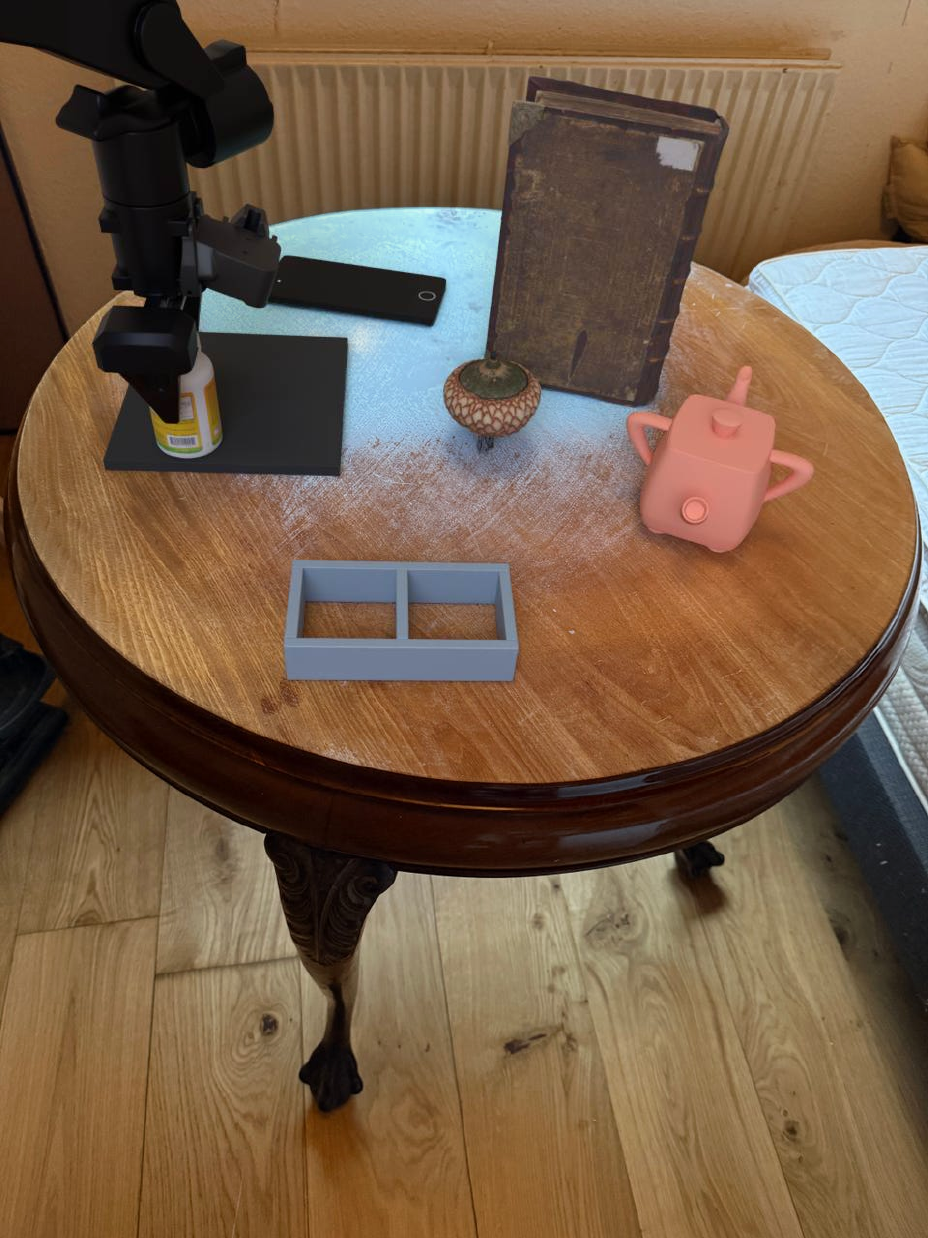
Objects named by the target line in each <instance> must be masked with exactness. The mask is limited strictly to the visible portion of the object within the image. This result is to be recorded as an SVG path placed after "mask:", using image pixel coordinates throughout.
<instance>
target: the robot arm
mask: <svg viewBox="0 0 928 1238" xmlns="http://www.w3.org/2000/svg"><path fill="white" fill-rule="evenodd" d="M0 43H2V44H8V45H15V46H19V47H20V46H21V47H26V48H33V49H34V50H37V51H39V52H42V53H44V54H47V55H49V56H51V57H54V58H57V59H59V60H61V61H63V62H66V63H69V64H70V65H71V64H72V65H74V66H77V67H79V68H83V69H85V70H89V71H90V72H91V71H92V72H94V73H97V74H100V75H102V76H106V77H109V78H112V79H115V80H118V81H120V82H124V83H126V84H122V85H118V86H115V87H112V88H110V89H109V88H108V89H107V90H103V91H100V90H97V89H93V88H91V87H88V86H85V85H82V84H79V83H77V84H75V85H74V86H73V88H72V93H71V95H70V97H69V99H68V100H67V101H66V102H65V103H64V104H62V106H60V109H59V111H58V113H57V115H56V116H55V119H54V121H55V125H56V126H57V127H58V129H60V130H64V131H67V132H69V133H72V134H75V135H77V136H80V137H83V138H85V139H88V140H90V143H91V148H92V152H93V156H94V161H95V166H96V170H97V175H98V179H99V185H100V189H101V195H102V199H103V204H104V205H103V207H102V209H101V211H100V213H99V216H98V224H99V229H100V232H101V234H110V237H111V241H112V245H113V247H112V248H113V251H114V256H115V260H116V264H115V266H114V269H113V271H112V273H111V277H110V278H111V283H112V287H113V291H123V292H133V295H134V296H136V297H139V298H143V299H145V300H144V303H143V306H141V305H121V304H120V305H119V304H118V305H117V304H114V305H112V306H111V307H110V308H109V309H108V310H107V311H106V313H105V314H104V315H103V316H102V317H101V319H100V322H99V324H98V327H97V329H96V332H95V335H94V337H93V340H92V342H91V346H92V349H93V355H94V358H95V362H96V366H97V368H98V369H99V370H101V371H102V372H103V373H108V374H117V375H119V376H120V377H121V378H122V379H123V380H124V381H125V382H126V383H127V384H128V385H129V384H130V385H131V386H132V387H133V388H134V389H135V390H136V392H137V393H138V394H139V395H140V396H141V397H142V398H143V399H144V400H145V402H146V403H147V404H148V405H149V406H150V407H151V408H152V409H153V411H154V412H155V413H156V414H157V415H158V416H159V417H160V419H161V420H162V421H163V422H164V423H166V424H178V423H179V420H180V396H181V375H185V374H188V373H189V372H190V371H192V369H193V367H194V364H195V360H196V357H197V353H198V349H199V347H197V332H198V334H199V332H200V322H201V312H202V302H203V294H204V292H205V291H206V290H207V289H209V290H210V291H212V292H215V293H219V294H221V295H224V296H227V297H229V298H232V299H235V300H238V301H241V302H243V303H244V304H245V306H248V307H250V308H253V309H264V308H266V307H267V305H268V303H269V302H268V298H269V295H270V292H271V289H272V286H273V283H274V279H275V276H276V273H277V270H278V266H279V261H280V260H281V253H282V246H281V245H280V243H279V242H278V235H275V234H272V235H271V237H270V233H271V232H270V226H269V223H268V217H267V212H266V210H264V209H263V208H260V207H257V206H256V205H253V204H250V203H245V204H244V206H242V207H241V209H239V210H238V211H237V212H236V213H235V214H234V215H233V216H231V219H230V218H229V216H226V215H223V217H222V220H218V219H215V218H212V217H211V216H210V215H209V214H208V213H206V214H205V210H204V203H203V198H202V197H198V191H197V190H191V185H190V178H189V177H190V176H189V170H188V165H190V166H191V167H193V168H195V169H209V168H212V167H213V166H215V165H218V164H221V163H223V162H224V161H226V160H229V159H231V158H233V157H236V156H238V155H240V154H243V153H245V152H247V151H249V150H251V149H254V148H256V147H258V146H260V145H263V144H264V143H265V142H266V141H267V140H268V139H269V138H270V136H271V134H272V132H273V129H274V125H275V111H274V104H273V103H272V101H271V100H270V97H269V93H268V91H267V89H266V86H265V85H264V83H263V81H262V80H261V77H259V75H258V74H257V72H256V71H254V69H253V68H252V67H251V66H250V65H249V64H248V60H247V49H246V46H245V45H243V44H240V43H237V42H233V41H230V40H227V39H224V38H222V39H218V40H216V41H213V42H211V43H209V44H208V45H207V46H206V47H203V46H202V45H201V44H200V42H199V41H198V39H197V38H196V36H195V35H194V33H193V32H192V30H191V29H190V28H189V26H188V24H187V23H186V21H185V20H184V19H183V15H182V12H181V7H180V5H179V3H178V1H177V0H0ZM229 219H230V220H229Z"/></svg>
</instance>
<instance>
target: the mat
mask: <svg viewBox="0 0 928 1238" xmlns="http://www.w3.org/2000/svg"><path fill="white" fill-rule="evenodd" d="M199 338H200V344H201V352H202V353H204V354H205V355H206V356H207V357H208V358H209V359H210V361H211V363H212V366H213V371H214V378H215V385H216V392H217V399H218V406H219V413H220V419H221V426H222V441H221V443H220V445H219V446H218V447H217V448H216V449H215V450H214V451H212V452H211V453H209V454H207V455H204V456H201V457H197V458H178V457H174V456H171V455H168V454H166V453H165V452H164V451H162V450H161V449H160V447H159V446H158V444H157V441H156V437H155V432H154V427H153V423H152V418H151V413H150V408H149V405H148V404H147V403H146V402H145V400H144V399H143V398H142V397H141V396H140V395H139V394H138V393H137V392H136V390H135V389H134V388H133V387H132V386H131V385H130V384H129V383H128V385H127V388H126V391H125V395H124V397H123V400H122V403H121V406H120V409H119V412H118V415H117V418H116V421H115V424H114V427H113V430H112V433H111V436H110V438H109V441H108V444H107V448H106V450H105V453H104V456H103V460H102V463H103V466H104V469H105V471H130V472H131V471H132V472H133V471H134V472H169V473H170V472H171V473H175V472H176V473H206V474H207V473H208V474H209V473H210V474H250V475H252V474H253V475H254V474H255V475H286V476H287V475H290V476H325V477H326V476H329V477H340V476H341V465H342V464H341V463H342V449H343V448H342V447H343V431H344V415H345V399H346V398H345V397H346V385H347V384H346V382H347V368H348V367H347V366H348V352H349V351H348V350H349V349H348V348H349V338H348V337H346V336H345V337H343V336H320V335H293V334H292V335H291V334H290V335H289V334H270V333H269V334H268V333H266V334H265V333H244V332H243V333H242V332H219V331H218V332H215V331H199Z"/></svg>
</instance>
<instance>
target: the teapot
mask: <svg viewBox="0 0 928 1238" xmlns="http://www.w3.org/2000/svg"><path fill="white" fill-rule="evenodd" d="M753 373H754V371H753V368H752V366H750V365H744V366H742V367H741V368H740V369H739V371H738V372H737V374H736V377H735V378H734V382H733V383H732V386H731V388H730V389H729V391H728V393H727V395H726V397H725V398H724V400H722V399H718V398H714V397H710V396H707V395H703V394H698V393H697V394H691V395H690V396H688V397H687V398H686V399H685V400H684V401H683V403H682V405H681V406H680V408H679V409H678V410H677V412H676V414H675V415H674V417H673V418H669V417H667V416H664V415H661V414H657V413H654V412H650V411H643V410H636V411H633V412H630V414H628V416H627V418H626V420H625V428H626V432H627V435H628V438H629V440H630V442H631V444H632V445H633V447H634V449H635V450H636V452H637V454H638V455H639V457H640V459H641V460H642V461H643V463H644V464H645V465H646V467H647V468H646V472H645V476H644V479H643V482H642V485H641V491H640V497H639V514H640V518H641V519H640V520H641V523H643V525H644V526H646V527H647V529H648V530H649V531H651V532H652V533H654V534H660V535H661V534H667V535H670V536H673V537H675V538H679V539H682V540H685V541H688V542H692V543H694V544H698V545H702V546H705V547H706V548H707V549H709V550H710V551H711V552H715V553H720V554H721V553H726V552H731V551H732V550H734V549H736V548H737V547H738V546H739V545H740V544H741V543H742V542H743V541H744V540H745V538H746V537H747V536H748V534H749V533H750V532H751V530H752V529H753V526H754V524H755V523H756V521H757V519H758V518H759V515H760V512H761V509H762V507H763V504H764V503H767V502H770V501H773V500H774V499H778V498H780V497H782V496H785V495H787V494H790V493H792V492H794V491H796V490H799V489H800V488H802V487H803V486H805V485H806V484H807V483H808V482H809V481H810V480H811V479H812V478H813V476H814V474H815V467H814V465H813V464H812V462H811V461H809V460H808V459H806V458H804V457H802V456H800V455H797V454H794V453H790V452H787V451H783V450H779V449H775V439H776V438H775V437H776V420H775V418H774V417H773V416H772V415H770V414H768V413H765V412H762V411H759V410H757V409H753V408H750V407H747V406H746V403H747V396H748V392H749V387H750V385H751V381H752V378H753ZM645 427H649V428H653V429H658V430H661V431H664V433H663V435H662V436H661V438H660V440H659V442H658V444H657V446H656V448H655V449H654V451H653V450H652V448H651V446H650V444H649V442H648V439H647V436H646V432H645ZM773 464H776V465H780V466H783V467H785V468H787V469H790V470H791V472H790V473H789V474H788V475H787V476H786V477H785V478H784V479H782V480H780V481H779V482H777V483H775V484H773V485H772V486H769V483H770V480H771V479H770V478H771V474H772V467H773Z"/></svg>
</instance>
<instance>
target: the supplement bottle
mask: <svg viewBox="0 0 928 1238" xmlns="http://www.w3.org/2000/svg"><path fill="white" fill-rule="evenodd" d="M197 347H199V349H198V353H197V357H196V360H195V364H194V367H193V369H192V371H190V372H189V373H188V374H185V375H181V396H180V420H179V423H178V424H166V423H164V422H163V421H162V420H161V419H160V417H159V416H158V415H157V414H156V413H155V412H154V411H153V409H152V408H151V407H150V406H149V408H150V413H151V418H152V423H153V427H154V432H155V437H156V441H157V444H158V446H159V447H160V449H161V450H162V451H164V452H165V453H166V454H168V455H171V456H174V457H178V458H197V457H201V456H204V455H207V454H209V453H211V452H212V451H214V450H215V449H216V448H217V447H218V446H219V445H220V443H221V441H222V426H221V419H220V413H219V406H218V399H217V392H216V385H215V378H214V371H213V366H212V363H211V361H210V359H209V358H208V357H207V356H206V355H205V354H204V353H202V352H201V344H200V338H199V334H198V332H197Z"/></svg>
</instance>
